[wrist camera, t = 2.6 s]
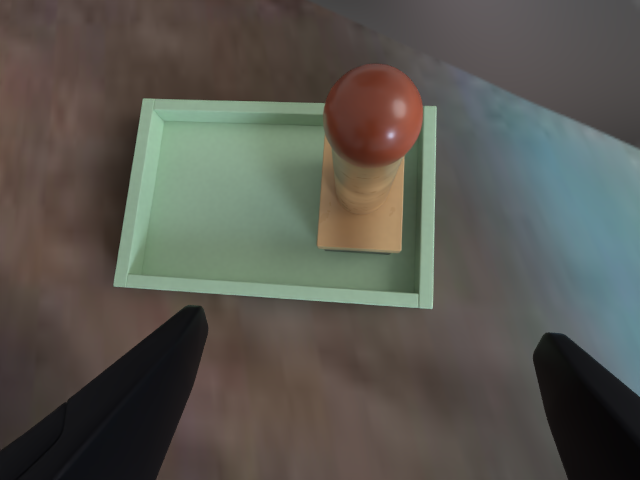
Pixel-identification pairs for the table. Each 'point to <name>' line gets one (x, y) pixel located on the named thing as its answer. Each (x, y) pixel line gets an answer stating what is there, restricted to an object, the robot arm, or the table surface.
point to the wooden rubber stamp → (366, 159)
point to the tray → (260, 208)
